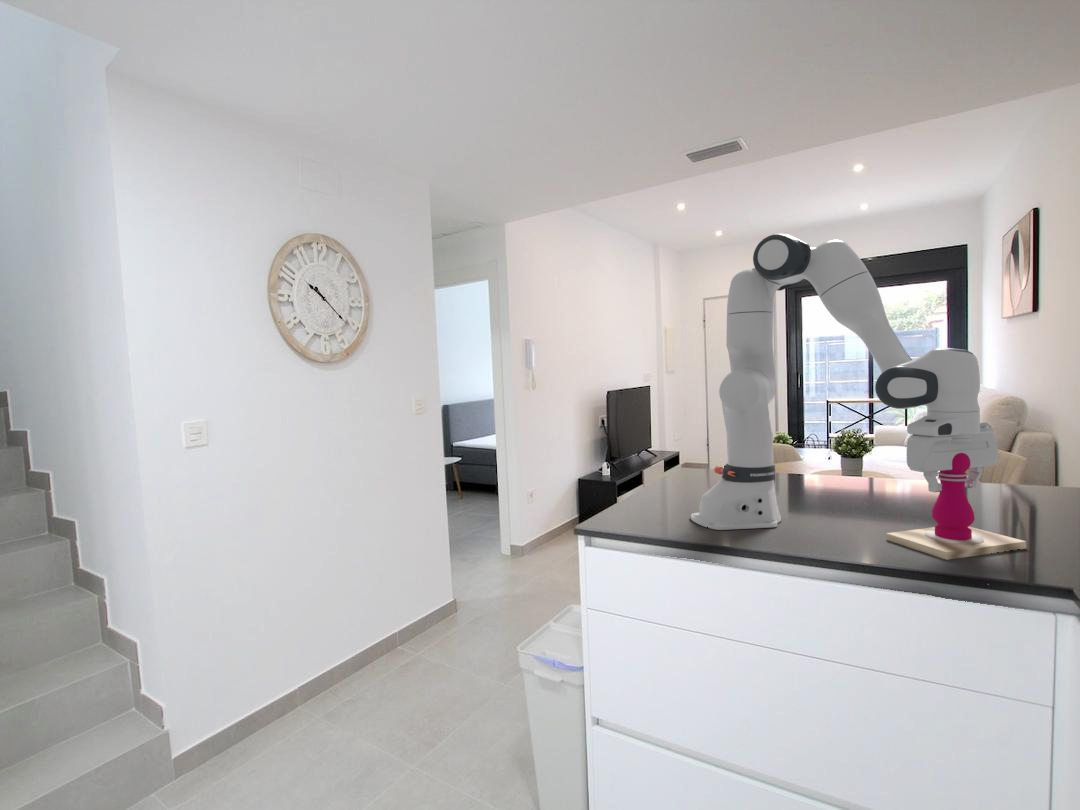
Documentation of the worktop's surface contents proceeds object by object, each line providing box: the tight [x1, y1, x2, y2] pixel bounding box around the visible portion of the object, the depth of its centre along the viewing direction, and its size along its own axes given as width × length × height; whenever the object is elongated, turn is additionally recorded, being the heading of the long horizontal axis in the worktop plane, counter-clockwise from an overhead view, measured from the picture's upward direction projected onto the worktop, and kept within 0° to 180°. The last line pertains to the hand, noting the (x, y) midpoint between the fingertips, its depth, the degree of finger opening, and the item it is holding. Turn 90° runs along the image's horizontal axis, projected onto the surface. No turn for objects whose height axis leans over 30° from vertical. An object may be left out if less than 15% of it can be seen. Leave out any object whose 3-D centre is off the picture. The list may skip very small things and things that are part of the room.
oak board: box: [886, 526, 1027, 561], centre depth 116 cm, size 20×14×2 cm
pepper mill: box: [931, 453, 976, 540], centre depth 115 cm, size 7×7×20 cm
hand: (953, 489), depth 115 cm, fingers open, 8 cm apart
